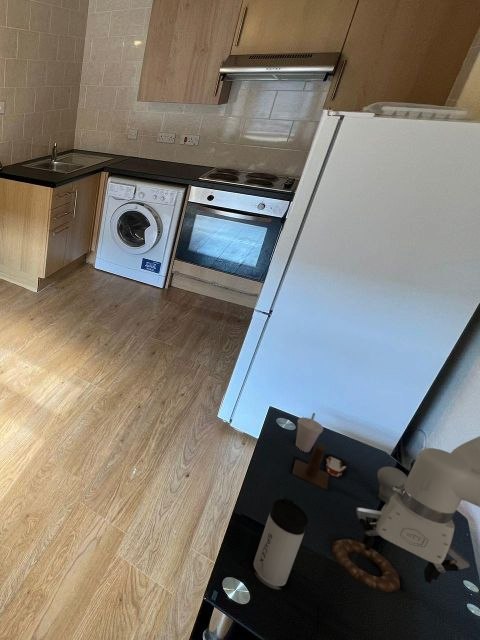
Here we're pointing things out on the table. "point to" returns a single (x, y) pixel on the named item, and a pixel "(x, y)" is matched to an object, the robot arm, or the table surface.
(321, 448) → the brown t-shaped piece
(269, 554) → the travel mug
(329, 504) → the table surface
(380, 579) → the ring
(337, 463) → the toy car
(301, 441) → the smoothie
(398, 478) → the lightbulb
